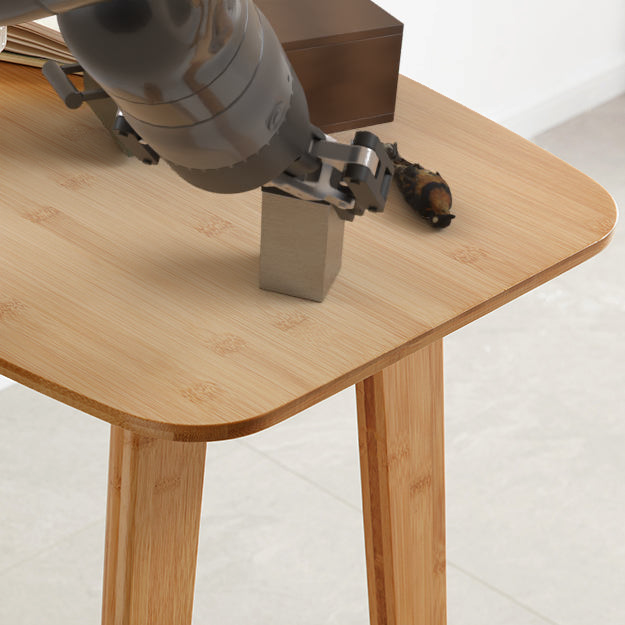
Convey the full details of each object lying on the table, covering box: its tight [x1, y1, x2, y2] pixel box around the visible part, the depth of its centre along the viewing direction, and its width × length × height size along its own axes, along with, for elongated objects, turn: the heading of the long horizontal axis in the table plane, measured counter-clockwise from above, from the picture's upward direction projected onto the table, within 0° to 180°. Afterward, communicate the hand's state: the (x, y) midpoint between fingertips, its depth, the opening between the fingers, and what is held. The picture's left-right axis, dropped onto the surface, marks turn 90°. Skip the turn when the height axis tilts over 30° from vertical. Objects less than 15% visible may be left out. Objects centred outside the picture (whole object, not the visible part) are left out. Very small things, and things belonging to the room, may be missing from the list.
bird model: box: [381, 141, 456, 229], centre depth 85 cm, size 3×13×3 cm, turn 14°
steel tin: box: [258, 167, 346, 303], centre depth 74 cm, size 4×4×8 cm
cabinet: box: [252, 0, 405, 135], centre depth 94 cm, size 14×12×9 cm
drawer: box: [41, 60, 135, 158], centre depth 89 cm, size 16×10×7 cm, turn 117°
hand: (282, 189), depth 67 cm, fingers open, 8 cm apart
